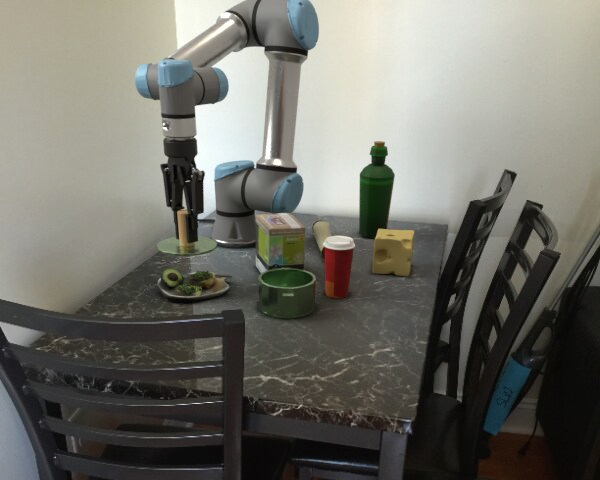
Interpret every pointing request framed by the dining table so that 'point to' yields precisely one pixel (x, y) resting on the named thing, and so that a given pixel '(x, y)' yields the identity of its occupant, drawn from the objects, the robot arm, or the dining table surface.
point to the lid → (185, 241)
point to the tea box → (279, 242)
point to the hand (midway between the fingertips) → (187, 239)
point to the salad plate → (191, 285)
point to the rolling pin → (321, 234)
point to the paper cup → (338, 265)
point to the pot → (287, 293)
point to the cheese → (393, 252)
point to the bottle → (375, 192)
